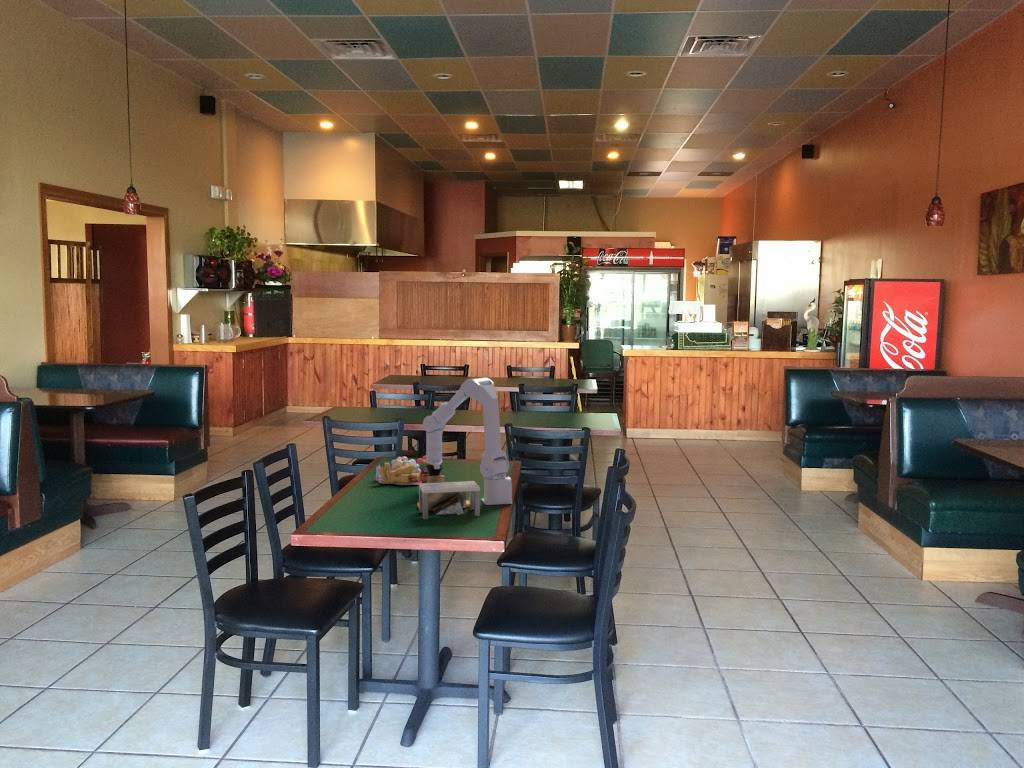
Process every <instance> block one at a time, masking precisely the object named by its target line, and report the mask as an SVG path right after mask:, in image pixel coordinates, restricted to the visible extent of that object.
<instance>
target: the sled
mask: <svg viewBox="0 0 1024 768" xmlns="http://www.w3.org/2000/svg"><path fill="white" fill-rule="evenodd" d="M441 482H446V481H445V475H443V474H442V475H441V474H440V475H439V476H427V483H441ZM451 493H453V492H442V493H428V511H430V509H429V505H430V504H431V503H433V502H436V501H438V500H439V499H441V498H443V497H445V496H447V495H449V494H451ZM461 494H462V496H463V499H464V505H463V507H462V508H463V509H467V508H466V500H467V491H463V492H461Z"/></svg>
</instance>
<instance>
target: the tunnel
mask: <svg viewBox="0 0 1024 768" xmlns="http://www.w3.org/2000/svg"><path fill="white" fill-rule="evenodd" d="M418 487H419V488H418V489H419V490H418V495H419V496H418V503H419V509H418V513H422V519H423V520H428V519H429V510H428V493H442V492H463V491H466V492H469V501H470V504H469V510H470V511H474V516H475V517H480V516H481V510H480V509H481V487H480V486H479V485H478V484H477V483H476V481H474V480H469V481H467V480H466V481H465V480H464V481H445V482H441V483H419V485H418Z"/></svg>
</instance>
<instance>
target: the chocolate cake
mask: <svg viewBox="0 0 1024 768" xmlns="http://www.w3.org/2000/svg"><path fill="white" fill-rule="evenodd" d="M463 505H464V499H463V496H462V494H461V492H453V493H451V494H449V495H447V496H445V497H443V498H441V499H439V500H438V501H436V502H433V503H431V504H430V505H429V509H430V510H429V511H430V512H433V514H434V515H435V516H437V515H445V516H446V517H447V516H450V515H457V516H460V515H464V510H463V509H464V508H462V507H463Z"/></svg>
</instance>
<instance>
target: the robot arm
mask: <svg viewBox="0 0 1024 768" xmlns="http://www.w3.org/2000/svg"><path fill="white" fill-rule="evenodd" d="M468 398H470V399H473V400H475V401H477V402H479V404H481V406H482V414H483V415H482V416H483V431H484V435H483V436H484V449H485V450H484V452H483V453H482V455H481V463H480V465H479V471H480V474H481V475H482V478H483V479H484V481H483V482H484V483H483V492H484V493H483V497H482V498H480V501H482V503H483V504H484V505H486V506H493V505H494V506H495V505H509V504H510V505H512V504H513V497H512V496H513V483H512V478H511V477H510V476H507V473H508V471H509V470H510V462H509V460H508V457H507V453H506V452H505V451H504V450H503V449H502V441H501V440H502V439H501V426H500V425H501V424H500V423H501V422H500V421H501V420H500V408H499V407H500V405H499V396H498V394H497V392H496V390H495V383H494V381H492V379H490V378H489V377H487V376H484V377H479V378H477V377H476V378H467V379H466V380H465V381H464V382H463V383H462V384H461V385H460V388H459V389H458V390H457V391H456V393H454V395H453V396H452V397H451V398H450V400H449V401H448V402H446V401H445V402H441V403H439V407H437V409H436V410H435V411H433V412H432V413H431V415H427V416H425V417H424V418H423V421H422V426H423V427H422V428H423V429H424V431H426V432H425V433H426V435H425V437H426V439H425V440H426V442H425V443H426V447H425V450H426V451H425V455H426V460H423V462H424V463H429V464H430V465H425V467H426V470H427V471H428V472H429V476H440V475H441V472H442V470H443V466H442V463H443V433H444V429H445V427H446V424H447V422H449V420H450V419H451V418H452V417H453V416H454V415H455V414H456V409H457V408H458V407H459V406H460V405H461V404H462V403H463V402H464V401H466V400H467V399H468Z"/></svg>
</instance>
